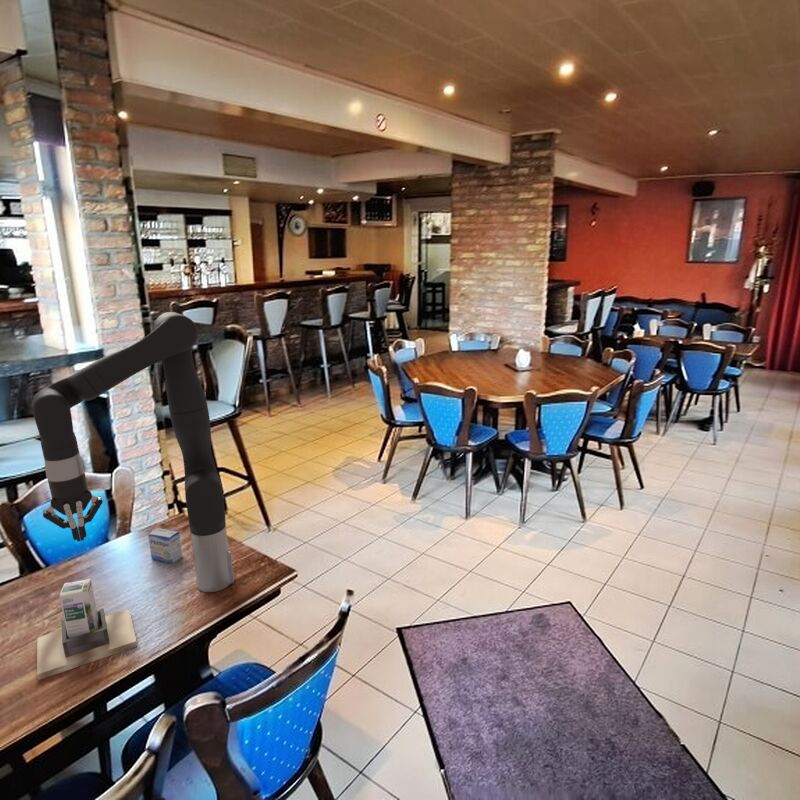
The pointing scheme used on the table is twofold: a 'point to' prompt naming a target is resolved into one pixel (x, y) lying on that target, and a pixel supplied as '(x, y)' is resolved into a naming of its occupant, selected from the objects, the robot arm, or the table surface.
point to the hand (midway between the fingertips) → (80, 539)
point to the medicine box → (165, 545)
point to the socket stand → (84, 644)
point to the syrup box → (79, 608)
